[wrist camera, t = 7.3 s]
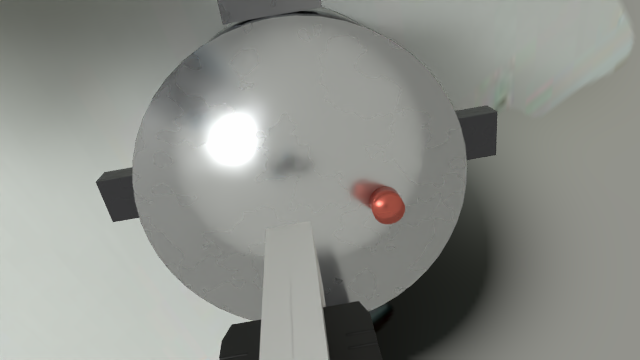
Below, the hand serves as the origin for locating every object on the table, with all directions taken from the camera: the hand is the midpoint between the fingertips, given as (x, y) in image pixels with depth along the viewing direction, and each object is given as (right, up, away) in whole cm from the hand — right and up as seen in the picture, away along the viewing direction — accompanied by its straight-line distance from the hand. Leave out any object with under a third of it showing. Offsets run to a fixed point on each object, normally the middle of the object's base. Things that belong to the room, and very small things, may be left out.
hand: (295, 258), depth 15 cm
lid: (0, -1, +15) cm, 15 cm away
